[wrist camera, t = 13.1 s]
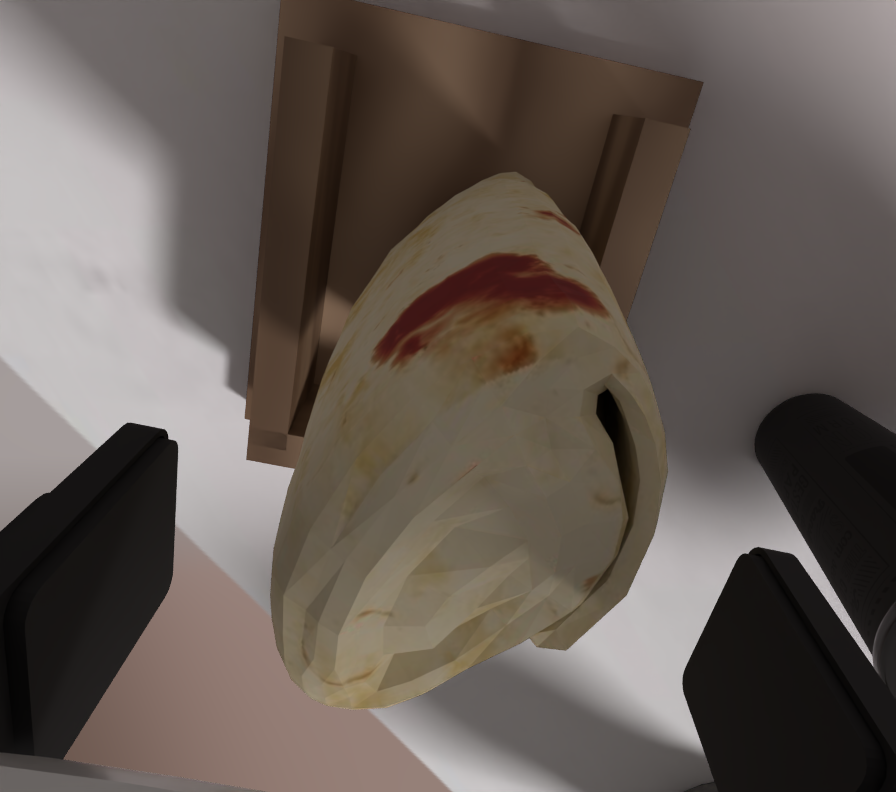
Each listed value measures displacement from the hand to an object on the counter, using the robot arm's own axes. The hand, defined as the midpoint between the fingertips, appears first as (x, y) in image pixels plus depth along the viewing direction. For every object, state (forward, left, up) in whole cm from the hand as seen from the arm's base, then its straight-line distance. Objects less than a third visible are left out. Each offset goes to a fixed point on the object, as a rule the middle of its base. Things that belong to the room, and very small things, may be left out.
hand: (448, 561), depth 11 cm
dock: (0, 0, -21) cm, 21 cm away
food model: (0, 0, -19) cm, 19 cm away
